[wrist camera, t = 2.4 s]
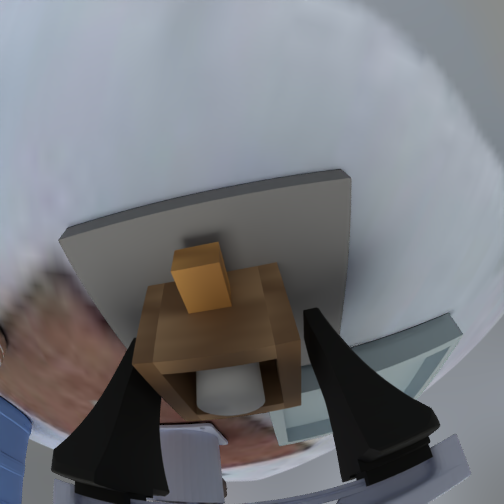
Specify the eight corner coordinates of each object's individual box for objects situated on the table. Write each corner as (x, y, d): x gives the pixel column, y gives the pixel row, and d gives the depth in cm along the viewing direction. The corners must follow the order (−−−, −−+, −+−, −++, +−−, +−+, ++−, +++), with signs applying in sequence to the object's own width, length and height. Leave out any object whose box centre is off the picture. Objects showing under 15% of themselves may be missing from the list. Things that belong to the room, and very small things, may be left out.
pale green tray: (275, 426, 26) (279, 446, 24) (260, 369, 18) (265, 400, 16) (405, 388, 26) (412, 404, 24) (448, 312, 18) (463, 334, 16)
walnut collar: (187, 357, 15) (186, 421, 11) (130, 248, 10) (102, 326, 7) (285, 341, 15) (301, 405, 11) (271, 219, 10) (298, 294, 7)
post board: (159, 374, 17) (155, 446, 13) (67, 227, 10) (8, 317, 6) (331, 345, 17) (356, 416, 13) (340, 169, 10) (422, 243, 6)
